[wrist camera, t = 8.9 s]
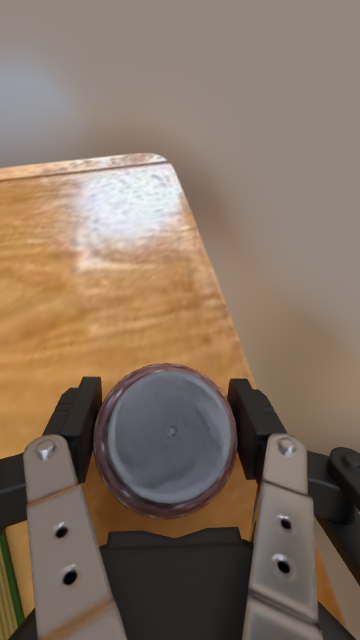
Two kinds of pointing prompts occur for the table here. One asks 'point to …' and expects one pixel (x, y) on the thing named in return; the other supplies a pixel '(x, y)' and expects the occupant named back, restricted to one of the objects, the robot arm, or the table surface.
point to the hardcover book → (8, 594)
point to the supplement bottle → (165, 441)
